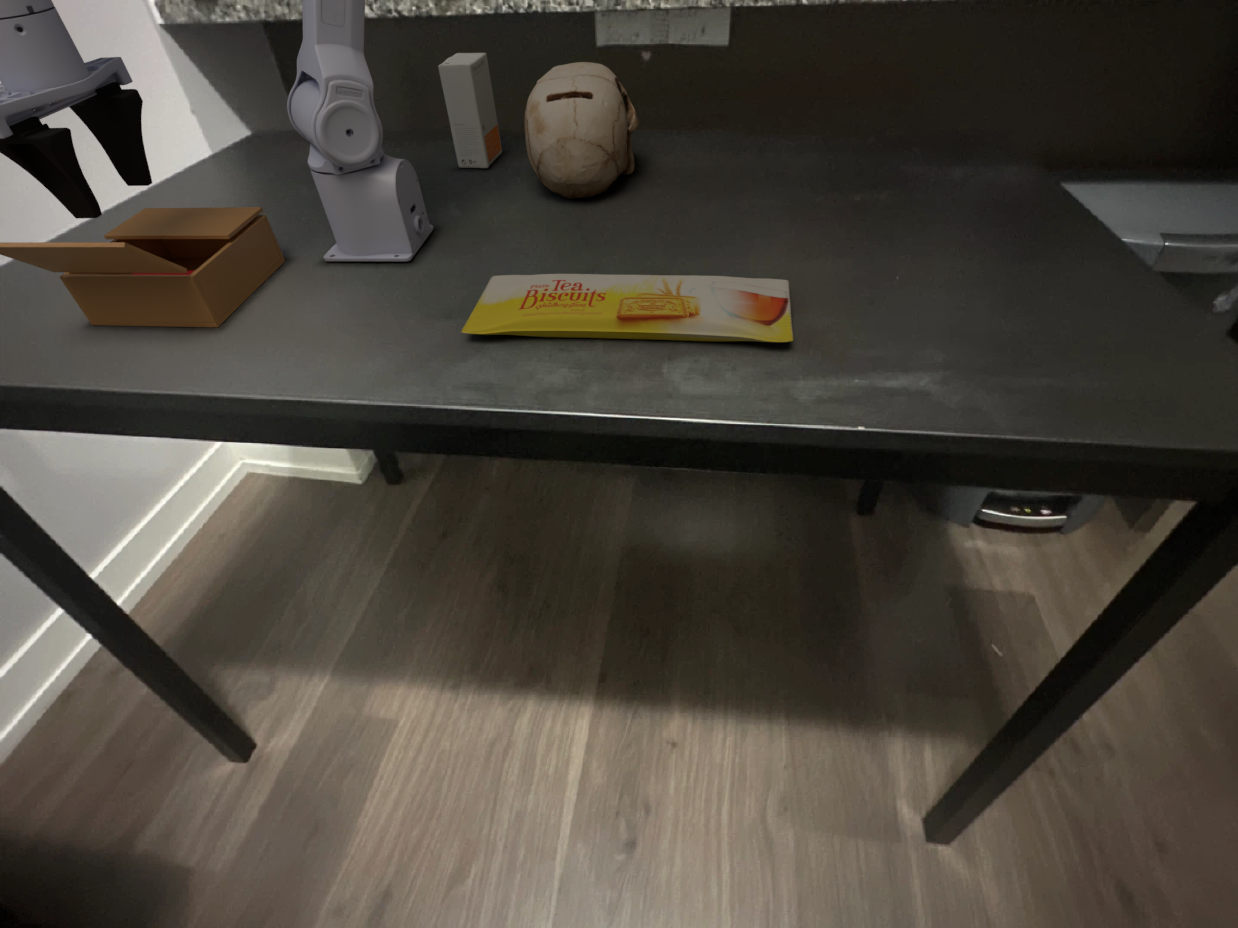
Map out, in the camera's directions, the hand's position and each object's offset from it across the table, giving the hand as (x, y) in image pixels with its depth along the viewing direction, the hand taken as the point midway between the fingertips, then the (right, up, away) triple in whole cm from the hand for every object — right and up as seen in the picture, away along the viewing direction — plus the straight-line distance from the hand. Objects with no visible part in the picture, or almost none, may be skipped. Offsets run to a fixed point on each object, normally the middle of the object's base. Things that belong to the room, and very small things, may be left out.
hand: (115, 199), depth 59 cm
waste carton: (+1, -6, +9) cm, 11 cm away
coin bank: (+39, +13, +26) cm, 49 cm away
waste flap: (-1, -6, -2) cm, 6 cm away
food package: (+44, -10, +1) cm, 45 cm away
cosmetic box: (+25, +17, +32) cm, 44 cm away
